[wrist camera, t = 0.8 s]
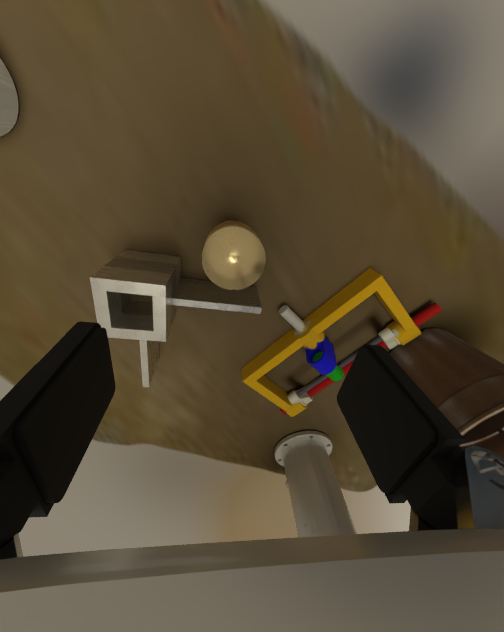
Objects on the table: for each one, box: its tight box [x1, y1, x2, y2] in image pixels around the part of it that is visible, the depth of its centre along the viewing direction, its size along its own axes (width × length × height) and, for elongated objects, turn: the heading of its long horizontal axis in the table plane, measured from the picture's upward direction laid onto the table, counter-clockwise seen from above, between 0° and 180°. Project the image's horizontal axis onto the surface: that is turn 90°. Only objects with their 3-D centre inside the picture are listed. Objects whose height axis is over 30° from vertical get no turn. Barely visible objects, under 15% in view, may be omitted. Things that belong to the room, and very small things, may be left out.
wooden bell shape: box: [202, 220, 266, 290], centre depth 25 cm, size 5×5×11 cm
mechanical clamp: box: [241, 268, 442, 417], centre depth 36 cm, size 18×6×30 cm
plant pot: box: [389, 328, 504, 459], centre depth 36 cm, size 16×16×16 cm
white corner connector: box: [90, 249, 262, 387], centre depth 31 cm, size 16×16×9 cm
